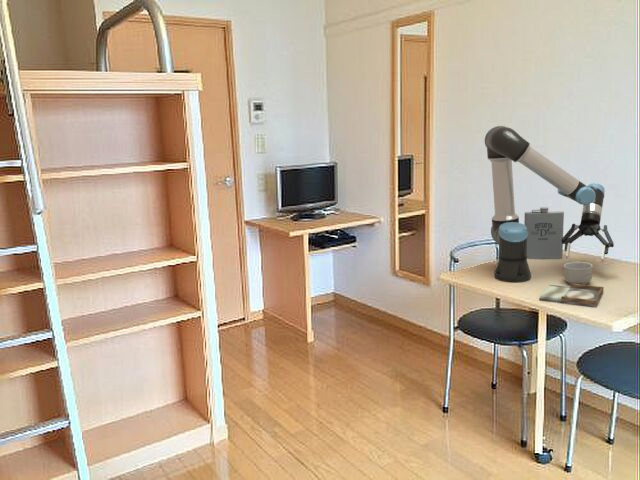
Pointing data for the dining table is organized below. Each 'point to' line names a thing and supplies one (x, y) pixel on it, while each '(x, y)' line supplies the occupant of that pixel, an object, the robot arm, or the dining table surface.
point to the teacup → (578, 272)
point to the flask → (544, 234)
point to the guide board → (573, 294)
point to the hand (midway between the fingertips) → (584, 259)
